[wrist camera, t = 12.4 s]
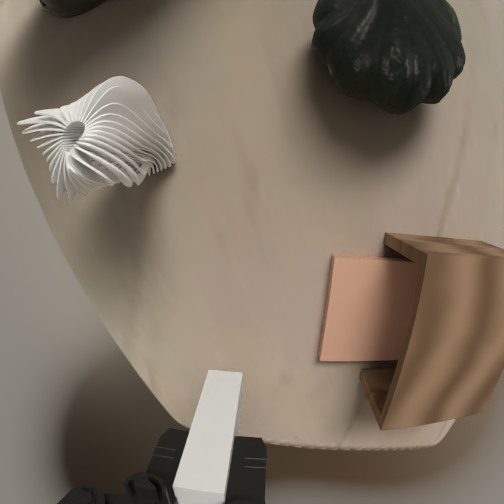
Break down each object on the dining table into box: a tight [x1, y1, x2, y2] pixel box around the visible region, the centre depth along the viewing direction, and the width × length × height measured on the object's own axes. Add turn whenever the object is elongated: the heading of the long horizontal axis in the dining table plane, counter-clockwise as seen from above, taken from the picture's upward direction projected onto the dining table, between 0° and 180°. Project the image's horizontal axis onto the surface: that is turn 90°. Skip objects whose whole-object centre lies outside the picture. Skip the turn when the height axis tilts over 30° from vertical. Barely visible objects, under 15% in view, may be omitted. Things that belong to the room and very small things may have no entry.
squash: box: [311, 0, 465, 114], centre depth 21 cm, size 14×15×15 cm
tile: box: [318, 254, 419, 361], centre depth 33 cm, size 18×12×2 cm, turn 87°
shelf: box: [360, 233, 504, 430], centre depth 28 cm, size 14×18×10 cm
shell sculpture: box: [17, 76, 176, 205], centre depth 22 cm, size 8×8×18 cm
